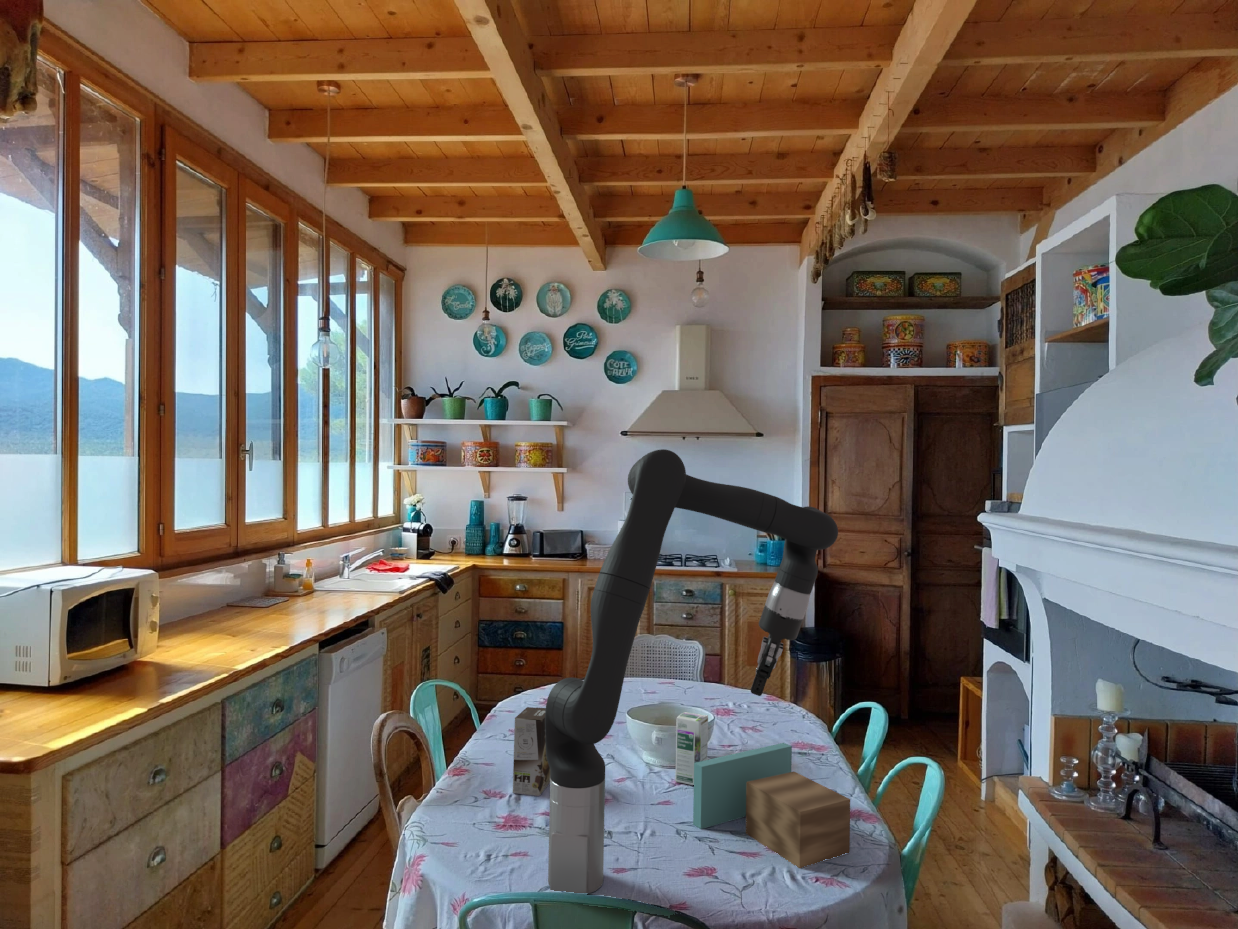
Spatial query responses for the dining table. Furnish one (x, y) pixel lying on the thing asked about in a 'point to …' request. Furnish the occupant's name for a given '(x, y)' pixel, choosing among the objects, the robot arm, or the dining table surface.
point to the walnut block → (798, 818)
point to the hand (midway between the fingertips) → (755, 693)
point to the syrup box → (690, 745)
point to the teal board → (733, 782)
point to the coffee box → (530, 753)
